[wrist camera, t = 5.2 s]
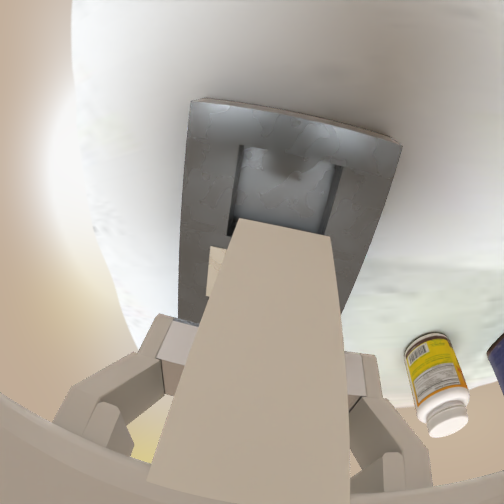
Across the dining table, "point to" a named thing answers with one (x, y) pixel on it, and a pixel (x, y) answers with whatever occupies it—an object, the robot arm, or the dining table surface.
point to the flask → (498, 360)
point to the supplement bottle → (437, 384)
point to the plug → (264, 380)
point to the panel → (277, 187)
